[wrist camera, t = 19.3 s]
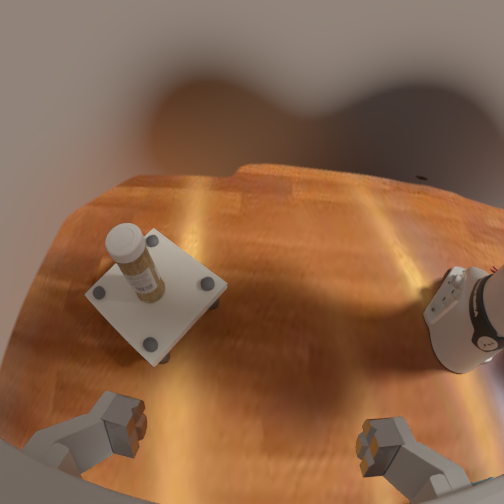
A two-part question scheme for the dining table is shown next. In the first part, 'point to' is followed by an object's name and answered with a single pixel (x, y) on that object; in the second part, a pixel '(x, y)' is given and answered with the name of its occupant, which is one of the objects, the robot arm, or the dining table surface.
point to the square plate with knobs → (164, 310)
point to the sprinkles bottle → (135, 261)
